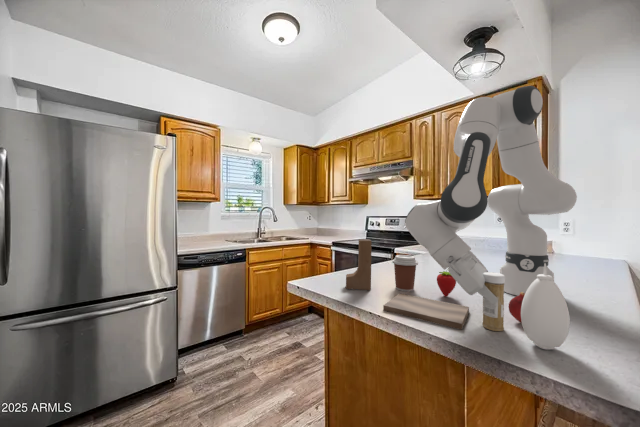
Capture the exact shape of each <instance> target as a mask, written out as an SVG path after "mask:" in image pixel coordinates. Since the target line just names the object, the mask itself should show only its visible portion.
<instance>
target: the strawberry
mask: <svg viewBox="0 0 640 427" xmlns="http://www.w3.org/2000/svg"><path fill="white" fill-rule="evenodd" d="M445 270H446V271H445ZM445 270H443V271H438V273H439V274H438V275H437V276H436V283H437V286H438V289H439V290H440V292H441V293H442V295H443V296H444V297H445V298H446V297H448V296H449V295H450V294H451V293H452V292H453V291H454V289H455V288H456V285H457V281H456V280H455V279H454V278H453V277H452V275H451V274H450V273H449V271H448V268H447V269H445Z"/></svg>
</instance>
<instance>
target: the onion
mask: <svg viewBox="0 0 640 427" xmlns="http://www.w3.org/2000/svg"><path fill="white" fill-rule="evenodd" d="M524 295H525V293H523V292H521V293H520V295H519V296H517V295H515V296H514V297H513V298H511V299H510V300H509V302H508V311H509V313H510V315H511V317H513V318H514V319H515V320H516V321H518V322H519V323H520V324H522V321H521V306H522V301H523V298H524Z"/></svg>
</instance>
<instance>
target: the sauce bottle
mask: <svg viewBox="0 0 640 427" xmlns="http://www.w3.org/2000/svg"><path fill="white" fill-rule="evenodd" d="M566 301H567V300H566V299H565V296H564V294H563V292H562V291H561V289H560V287H559V286H558V284H556V282H555V280H554V281H553V277H552V276H550V275H547V272H546V263H545V264H544V273H543V274H538V275H537V279H536V280H534V281H533V282H532V284H531V285H530V286H529V288H528V289H527V291H526V293H525V295H524V298H523V301H522V306H521V321H522V323H521V326H522V327H523V328H522V329H523V331H524V333H525V335H526V337H527V338H528V339H529V340H530V341H531V342H532V343H533V345H535V346H537V347H538V348H540V349H542V350H547V351H548V350H554V349H555V348H559V347H561V346H562V345H563V344H564V342H566V340H567V338H568V336H569V333H570V332H569V331H570V328H571V326H570V325H571V323H570V322H571V320H570V312H569V308H568V304H567V302H566Z"/></svg>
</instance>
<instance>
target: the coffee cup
mask: <svg viewBox="0 0 640 427" xmlns="http://www.w3.org/2000/svg"><path fill="white" fill-rule="evenodd" d="M394 256H395V257H394V259H392V261H391V263H392V264H393V265H394V269H393V270H394V282H395V283H394V284H395V289H396V290H398V291H399V292H413V291H414V289H415V280H416V270H417V266H418V265H419V262H418V260H417V259H416V257H415V256H413V255H407V254H397V255H394Z"/></svg>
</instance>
